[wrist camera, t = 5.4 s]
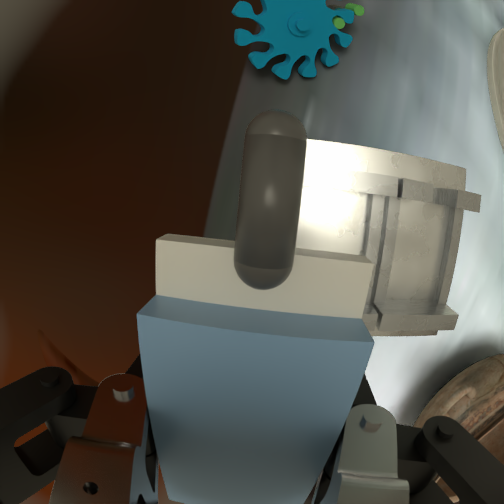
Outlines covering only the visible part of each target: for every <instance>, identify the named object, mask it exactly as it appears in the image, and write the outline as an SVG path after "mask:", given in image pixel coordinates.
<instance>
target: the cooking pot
mask: <svg viewBox="0 0 504 504" xmlns="http://www.w3.org/2000/svg"><path fill="white" fill-rule="evenodd" d="M433 416H447V417H450V418H452V419H454V420H455V421H457V422H458V423H459V424H460V425H461V426H463V427H464V428H465V429H466V430H467V431H468V432H469V433H470V434H471V435H472V436H473V437H474V438H475V439H476V440H477V441H479V442H480V443H481V444H482V445H483V446H484V447H485V448H486V449H487V450H488V451H489V452H490V453H491V454H492V455H493V456H494V457H495V458H496V459H498V460H499V461H500V462H501V463H502V464H503V465H504V354H499V355H495V356H491V357H488V358H485V359H483V360H481V361H479V362H476V363H475V364H473V365H471V366H470V367H468V368H466V369H465V370H463V371H462V372H461V373H459V374H458V375H456V376H455V377H454V378H453V379H452V380H450V381H449V382H448V383H447V384H446V385H445V386H444V387H443V388H442V389H440V390H439V391H438V392H437V394H436V395H435V396H434V397H433V398H432V399H431V400H430V401H429V403H428V404H427V405H426V407H425V408H424V409H423V411H422V412H421V414H420V415H419V417H418V419H417V420H416V422H415V424H414V426H413V427H418V428H422V427H423V425H424V423H425V422H426V421H427V420H428V419H429V418H431V417H433ZM433 480H434V481H435V482H436V483H437V484H438V486H439V487H440V488H441V489H442V490H443V491H444V493H445V494H446V495H447V496H448V497H449V498H450V500H451V501H452V502H453V503H454V502H457V501H459V498H458V496H457V495H456V494H455V493H454V492H453V491H452V489H451V488H450V487H449V486H448V485H447V484H446V483H445V482H444V480H443V479H442V478H441V477H440V476H439V475H437V476H436V477H435V478H434V479H433Z"/></svg>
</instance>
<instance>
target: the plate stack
mask: <svg viewBox="0 0 504 504" xmlns="http://www.w3.org/2000/svg"><path fill="white" fill-rule="evenodd" d="M487 77H488V87H489V94H490V100H491V105H492V110H493V115H494V119H495V123H496V127H497V131H498V135H499V139H500V142H501V146H502V149H503V152H504V28H503V29H501V30H499V31H498V32H497V33H496V34H495V35H494V36H493V38H492V39H491V42H490V45H489V48H488V55H487Z"/></svg>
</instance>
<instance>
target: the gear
mask: <svg viewBox="0 0 504 504" xmlns="http://www.w3.org/2000/svg"><path fill="white" fill-rule="evenodd" d="M325 1H326V0H261V3H262V6H263V11H262V13H261V14H259V15H255V14H254V12H253V9H252V6H251V5H250V4H249V3H248V2H243V1H239V2H238V3H237V4H236V5H235V7H234V9H233V10H232V13H233V14H234V15H235V16H238V17H246V18H247V17H248V18H251V19H253V20H254V21H255V22H257V23H258V24H259V25H260V27H261V31H260V33H259V34H257V35H252V34H251V33H250V32H249V31H247V30H244V29H237V30H236V31H235V35H234V39H235V43H236V44H238V45H240V46H245V45H247V44H249V43H252V42H256V41H263V42H268V43H269V44H270V48H269V50H268V51H267V52H258V51H254V52H251V53H250V54H249V55H248V58H249V60H250V62H251V63H252V64H253V65H254V66H255V67H256V68H257V69H260V68H262V67H264V66H265V65H266V63H267V62H268V61H269V60H270V59H271V58H273V57H275V56H277V55H280V54H286V60H285V61H284V62H281V63H278V64H275V65H274V66H273V67H272V72H273V73H274V74H276V75H277V76H278V77H280V78H282V79H285V80H286V79H288V78H289V76H290V74H291V69H292V66H293V64H294V63H295V62H296V60H297V59H299V58H300V57H301V56H303V55H305V57H306V59H305V61H304V62H303V63H302V64H301V65H300V66H299V68H298V73H299V74H300V75H302V76H304V77H315V76H316V74H317V71H316V68H315V63H314V61H315V56H316V53H317V51H318V49H320V48H322V49H323V52H322V55H321V62H322V63H323V64H324V65H326V66H328V67H330V66H333V65H335V64H337V63H338V62H339V58H338V56H337V55H335V54H334V53H333V51H332V50H331V48H330V44H329V36H330V35H331V34H334V37H335V42H336V43H337V44H338V45H340V46H343V47H345V48H346V47H347V46H349V44H350V43H351V41H352V40H353V38H352V36H351V35H349V34H346V33H344V32H340V31H339V30H338V29H342V28H343V27H344V26H345V23H349V24H351V23H353V20H354V15H358V16H361V15H363V14H364V8H363V7H362V6H361V5H357V4H352V3H348V4H346V6H345V8H344V7H342V6H338V5H329V6H326V4H325Z"/></svg>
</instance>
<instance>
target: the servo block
mask: <svg viewBox="0 0 504 504" xmlns="http://www.w3.org/2000/svg"><path fill="white" fill-rule="evenodd" d="M306 148H307V135H306V131H305V128H304V126H303V125H302V123H301V122H300V120H299V119H297V118H296V117H295V116H294V115H292V114H291V113H289V112H286V111H283V110H268V111H265V112H262V113H260V114H259V115H257V116H256V117H255V118H254V119H252V121H251V122H250V123H249V125H248V127H247V129H246V133H245V138H244V148H243V159H242V169H241V180H240V190H239V201H238V212H237V224H236V235H235V241H231V240H222V239H213V238H203V237H194V236H184V235H174V234H166V235H164V236H162V237H160V238H158V239H156V295H155V296H154V297H153V298H152V299H151V300H150V301H149V302H148V303H147V304H146V305H145V306H144V307H143V308H142V309H141V310H140V311H139V312H138V313H137V324H138V335H139V346H140V355H141V364H142V371H143V379H144V386H145V393H146V399H147V405H148V411H149V416H150V422H151V427H152V432H153V437H154V442H155V446H156V451H157V455H158V459H159V463H160V467H161V471H162V475H163V479H164V483H165V486H166V490H167V493H168V497H169V499H170V500H173V501H177V502H181V503H185V504H303V503H304V502H305V500H306V498H307V497H308V495H309V493H310V491H311V490H312V488H313V486H314V484H315V482H316V481H317V479H318V477H319V475H320V473H321V471H322V469H323V468H324V466H325V464H326V462H327V460H328V458H329V456H330V454H331V452H332V450H333V447H334V445H335V443H336V441H337V439H338V437H339V435H340V432H341V430H342V428H343V426H344V423H345V421H346V419H347V416H348V414H349V412H350V409H351V407H352V404H353V402H354V399H355V397H356V394H357V392H358V389H359V386H360V384H361V381H362V378H363V375H364V373H365V370H366V367H367V364H368V361H369V358H370V355H371V352H372V349H373V346H374V340H373V338H372V337H371V335H370V333H369V331H368V329H367V328H366V326H365V324H364V322H363V320H362V315H363V311H364V307H365V303H366V298H367V294H368V290H369V285H370V280H371V276H372V271H373V266H374V264H373V263H372V262H371V261H370V260H369V259H368V258H367V257H366V256H362V255H354V254H346V253H337V252H329V251H320V250H311V249H303V248H295V247H296V239H297V231H298V223H299V215H300V206H301V197H302V188H303V179H304V169H305V159H306Z"/></svg>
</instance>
